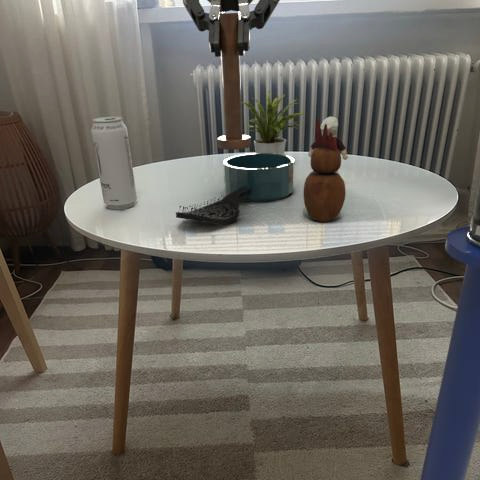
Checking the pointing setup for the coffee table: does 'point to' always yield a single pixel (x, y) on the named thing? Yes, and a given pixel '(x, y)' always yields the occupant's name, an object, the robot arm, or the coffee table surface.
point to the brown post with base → (231, 85)
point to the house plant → (270, 126)
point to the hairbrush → (217, 209)
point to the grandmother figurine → (332, 127)
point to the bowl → (260, 176)
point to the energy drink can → (114, 162)
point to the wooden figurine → (324, 179)
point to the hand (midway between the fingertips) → (229, 50)
